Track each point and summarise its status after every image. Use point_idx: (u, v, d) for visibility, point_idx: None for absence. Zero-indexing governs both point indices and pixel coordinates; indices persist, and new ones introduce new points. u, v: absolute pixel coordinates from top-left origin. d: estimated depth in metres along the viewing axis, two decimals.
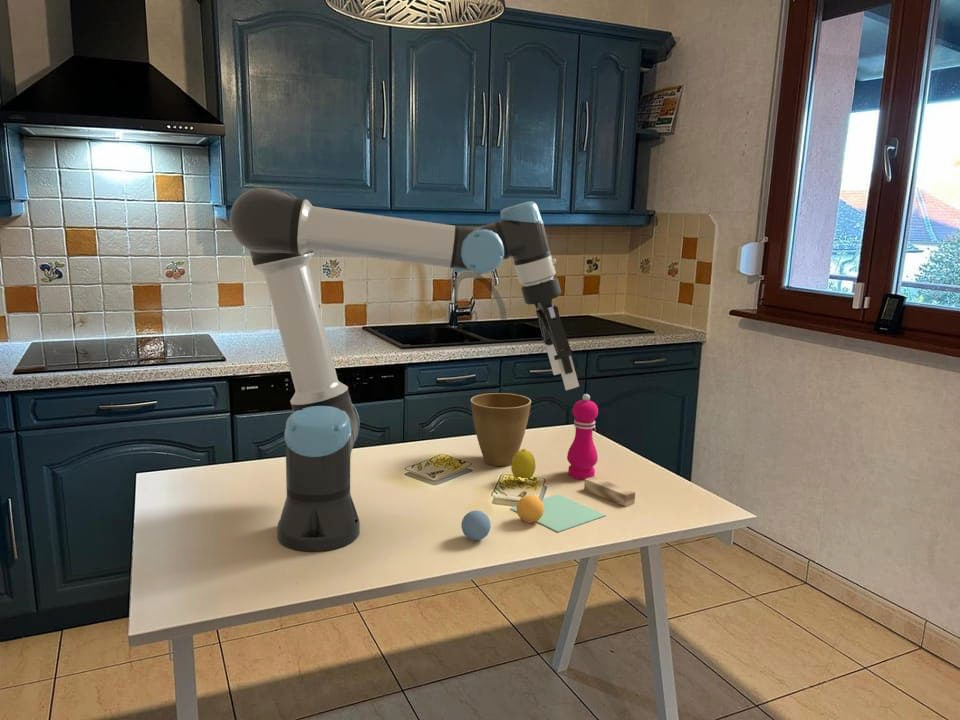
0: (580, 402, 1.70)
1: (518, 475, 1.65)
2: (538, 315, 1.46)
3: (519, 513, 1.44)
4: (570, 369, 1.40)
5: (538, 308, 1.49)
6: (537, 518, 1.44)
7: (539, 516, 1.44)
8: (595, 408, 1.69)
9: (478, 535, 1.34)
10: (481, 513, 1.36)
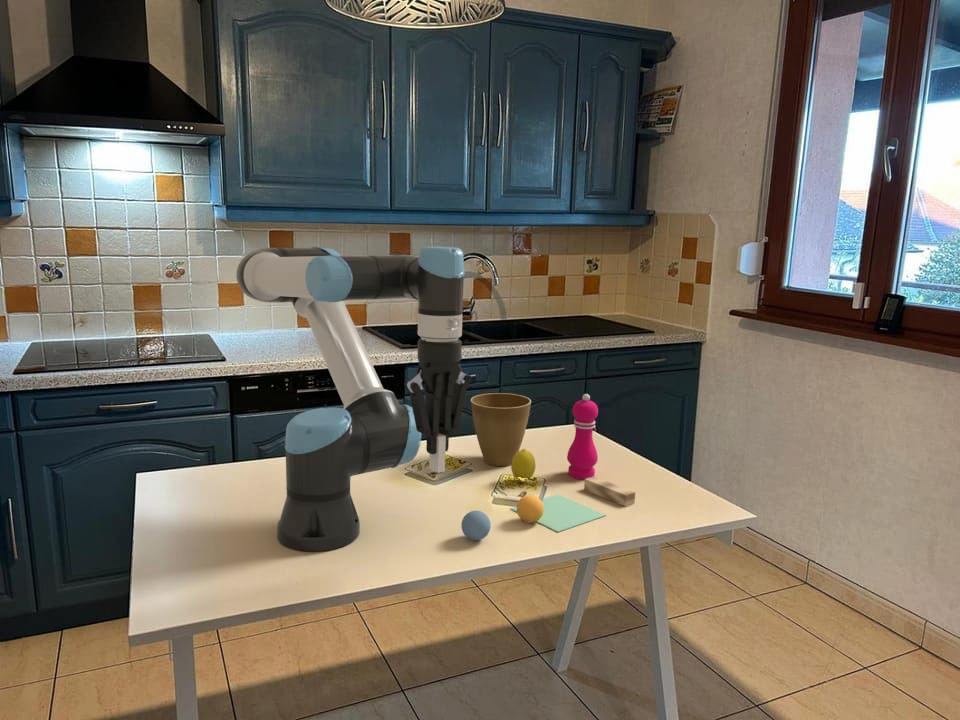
0: (580, 402, 1.70)
1: (518, 475, 1.65)
2: None
3: (519, 513, 1.44)
4: (429, 450, 1.26)
5: None
6: (537, 518, 1.44)
7: (539, 516, 1.44)
8: (595, 408, 1.69)
9: (478, 535, 1.34)
10: (481, 513, 1.36)
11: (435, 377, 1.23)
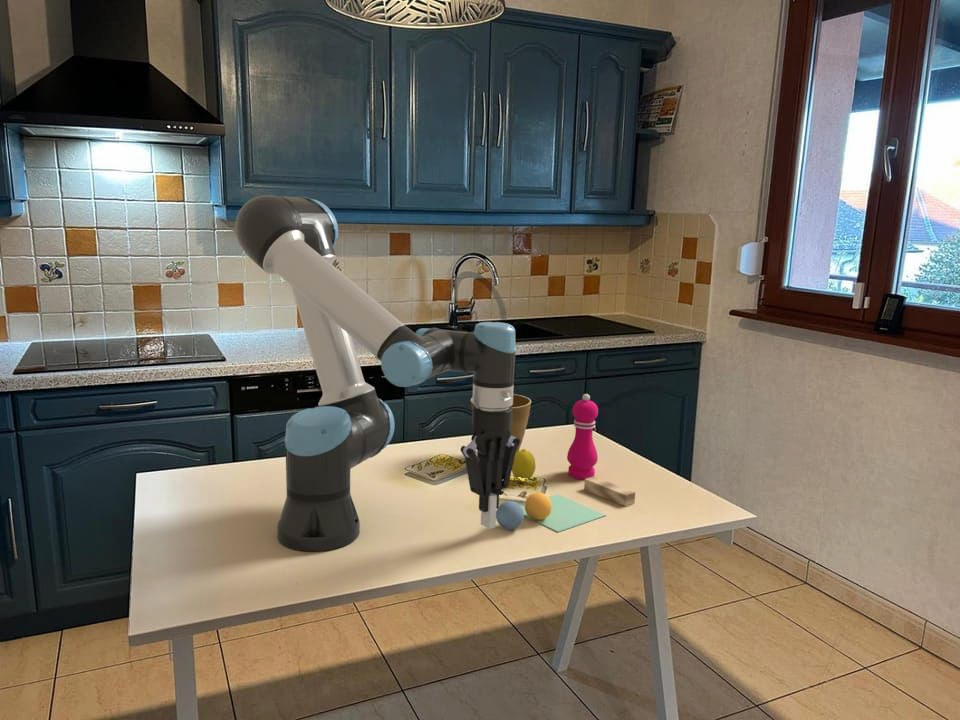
0: (580, 402, 1.70)
1: (518, 475, 1.65)
2: None
3: (530, 500, 1.46)
4: (482, 508, 1.37)
5: None
6: (543, 514, 1.45)
7: (545, 513, 1.45)
8: (595, 408, 1.69)
9: (521, 512, 1.41)
10: None
11: (488, 443, 1.33)
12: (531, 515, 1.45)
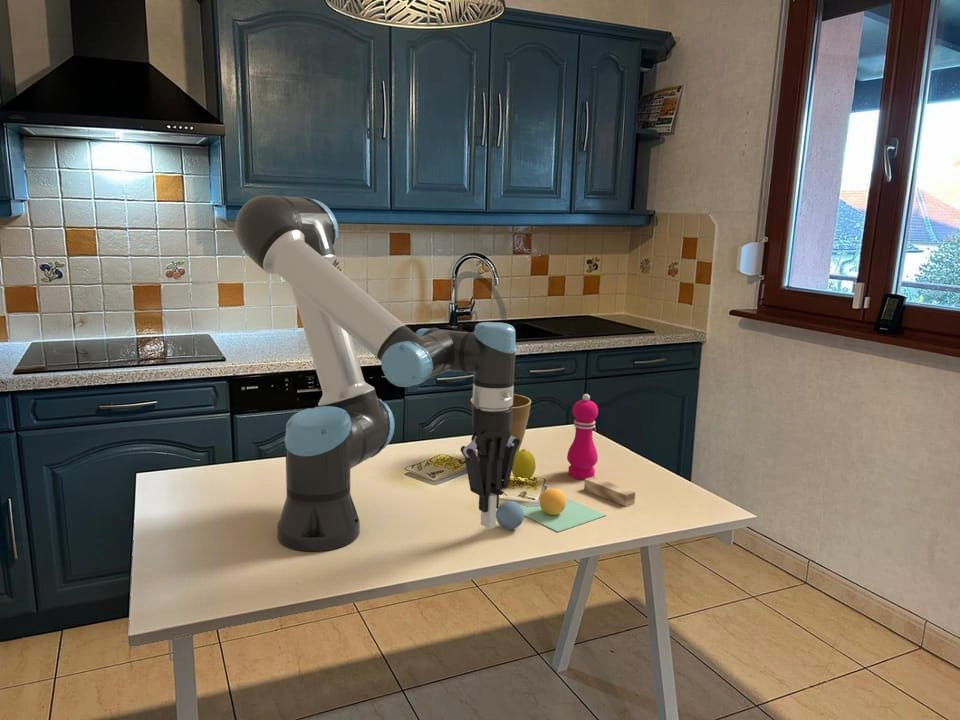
0: (580, 402, 1.70)
1: (518, 475, 1.65)
2: None
3: None
4: (482, 508, 1.37)
5: None
6: (559, 501, 1.47)
7: (559, 504, 1.47)
8: (595, 408, 1.69)
9: (521, 512, 1.41)
10: None
11: (488, 443, 1.33)
12: (550, 493, 1.48)
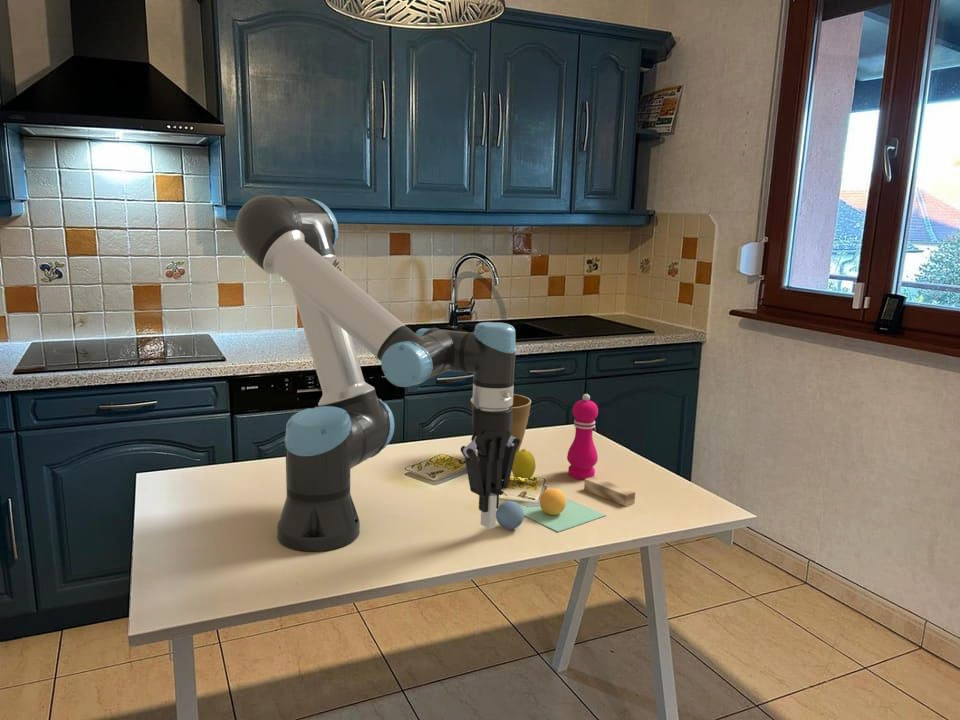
0: (580, 402, 1.70)
1: (518, 475, 1.65)
2: None
3: None
4: (482, 508, 1.37)
5: None
6: (559, 501, 1.47)
7: (559, 504, 1.47)
8: (595, 408, 1.69)
9: (521, 512, 1.41)
10: None
11: (488, 443, 1.33)
12: (550, 493, 1.48)
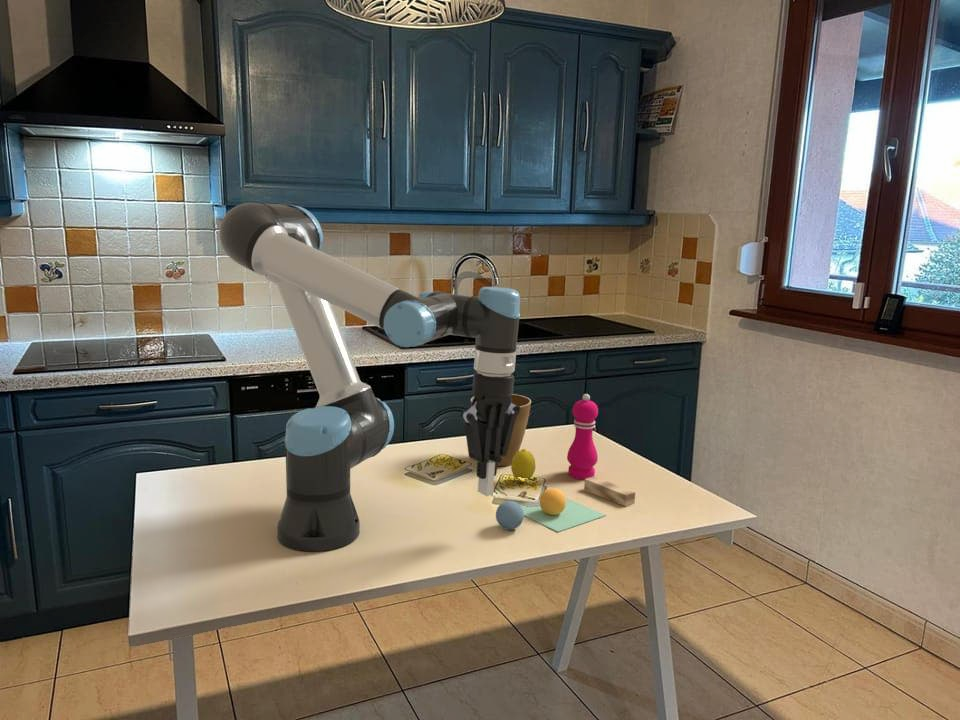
0: (580, 402, 1.70)
1: (518, 475, 1.65)
2: None
3: None
4: (480, 475, 1.36)
5: None
6: (559, 501, 1.47)
7: (559, 504, 1.47)
8: (595, 408, 1.69)
9: (521, 512, 1.41)
10: None
11: (488, 408, 1.32)
12: (550, 493, 1.48)
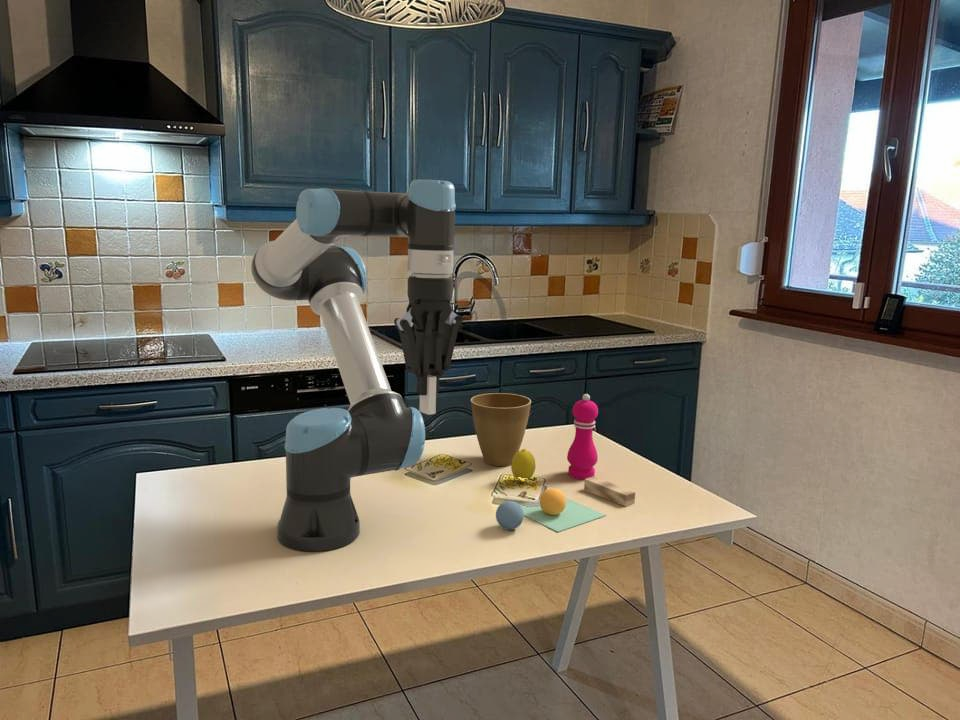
0: (580, 402, 1.70)
1: (518, 475, 1.65)
2: None
3: None
4: (420, 391, 1.23)
5: None
6: (559, 501, 1.47)
7: (559, 504, 1.47)
8: (595, 408, 1.69)
9: (521, 512, 1.41)
10: None
11: (425, 315, 1.20)
12: (550, 493, 1.48)
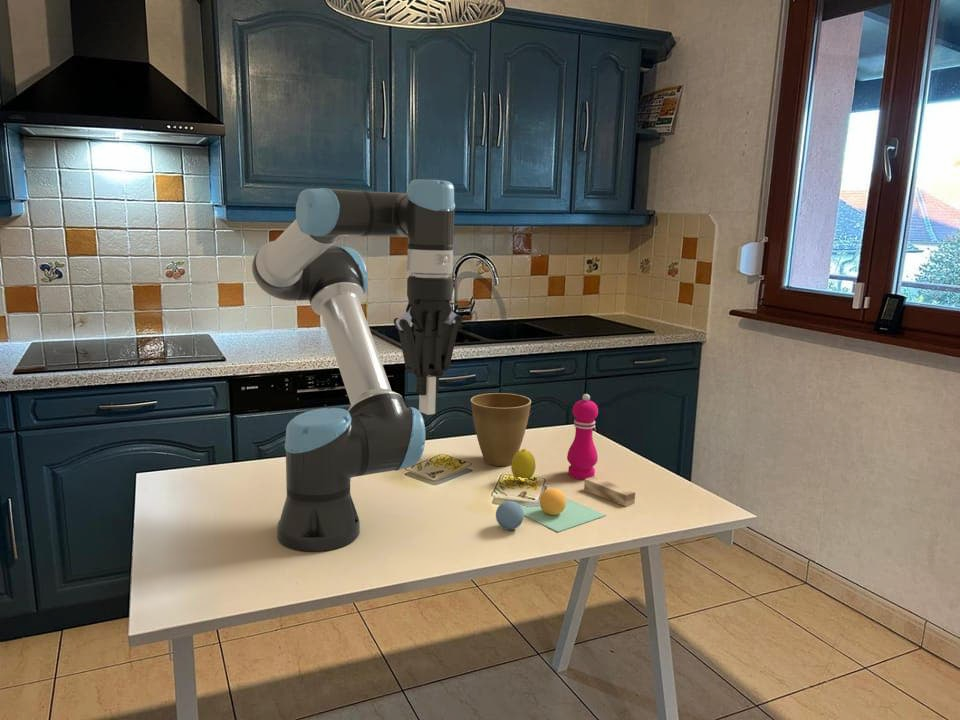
0: (580, 402, 1.70)
1: (518, 475, 1.65)
2: None
3: None
4: (419, 391, 1.23)
5: None
6: (559, 501, 1.47)
7: (559, 504, 1.47)
8: (595, 408, 1.69)
9: (521, 512, 1.41)
10: None
11: (424, 315, 1.20)
12: (550, 493, 1.48)
